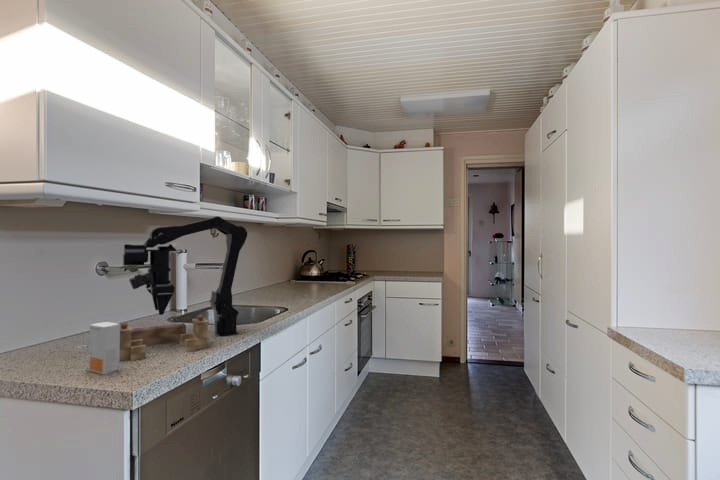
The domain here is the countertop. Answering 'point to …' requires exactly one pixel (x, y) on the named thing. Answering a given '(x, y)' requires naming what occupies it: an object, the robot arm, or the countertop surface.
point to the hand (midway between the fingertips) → (159, 312)
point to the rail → (159, 334)
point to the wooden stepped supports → (189, 340)
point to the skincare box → (104, 347)
